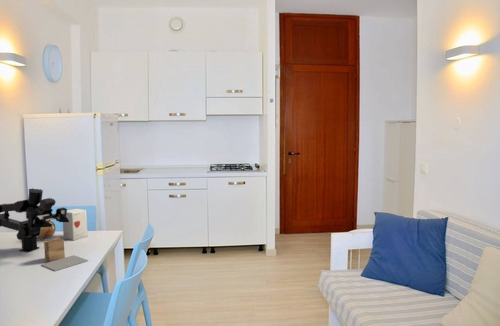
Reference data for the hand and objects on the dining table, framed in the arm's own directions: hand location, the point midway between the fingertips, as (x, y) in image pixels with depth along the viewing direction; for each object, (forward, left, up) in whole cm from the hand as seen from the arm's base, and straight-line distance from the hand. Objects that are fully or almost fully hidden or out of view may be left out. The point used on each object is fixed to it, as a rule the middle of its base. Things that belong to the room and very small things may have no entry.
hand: (60, 223), depth 184 cm
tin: (-33, +20, -16) cm, 42 cm away
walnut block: (+1, -5, -16) cm, 16 cm away
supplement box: (-17, +26, -16) cm, 35 cm away
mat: (+9, -7, -16) cm, 19 cm away
